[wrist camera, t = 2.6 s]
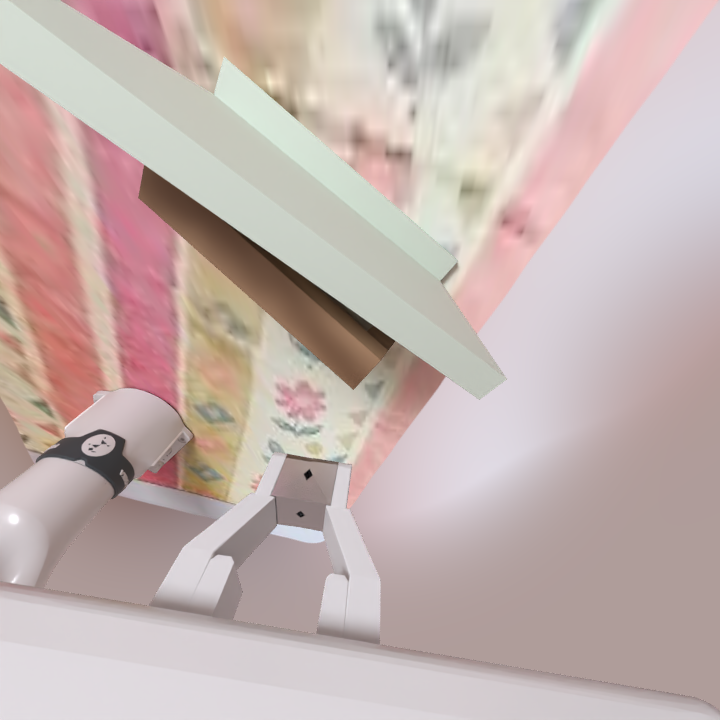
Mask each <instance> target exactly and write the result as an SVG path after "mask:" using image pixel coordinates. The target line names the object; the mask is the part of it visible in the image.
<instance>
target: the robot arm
mask: <svg viewBox="0 0 720 720" xmlns="http://www.w3.org/2000/svg"><path fill="white" fill-rule="evenodd" d="M93 399H94V404H93V405H91V406H90V407H89V408H88V409H86V410H85V411H84V412H83V413H81V414H80V415H79V416H78V417H76V418H75V419H74V420H73V421H72V422H70V423H69V424H68V425H67V426H66V427H65V438H64V439H62V440H60V441H59V442H57V443H56V444H55V445H53V446H51V447H50V448H48V449H47V450H46V451H45V452H44V453H43V454H42V455H41V456H40V457H38V458H37V460H36V463H35V464H34V465H33V466H31V467H30V468H29V469H27V470H26V471H25V472H23V473H22V474H21V475H19V476H18V477H17V478H16V479H14V480H13V481H12V482H10V483H9V484H8V485H6V486H5V487H4V488H2V489H1V490H0V720H720V710H718V709H717V708H716V707H714V706H713V705H711V704H710V703H708V702H706V701H704V700H701V699H698V698H695V697H690V696H685V695H680V694H674V693H668V692H662V691H656V690H650V689H644V688H637V687H632V686H626V685H620V684H614V683H608V682H602V681H596V680H590V679H584V678H578V677H572V676H566V675H560V674H554V673H548V672H542V671H535V670H530V669H524V668H518V667H512V666H505V665H499V664H493V663H488V662H482V661H476V660H470V659H464V658H458V657H452V656H446V655H440V654H434V653H428V652H422V651H416V650H410V649H404V648H398V647H392V646H386V645H380V586H381V585H380V584H381V580H380V578H379V576H378V573H377V571H376V569H375V566H374V564H373V561H372V559H371V557H370V554H369V552H368V550H367V547H366V545H365V543H364V540H363V538H362V535H361V533H360V531H359V528H358V526H357V524H356V522H355V519H354V517H353V514H352V512H351V510H350V509H347V500H348V493H349V485H350V477H351V470H352V464H346V463H339V462H335V461H328V460H322V459H315V458H307V457H301V456H296V455H290V454H285V453H279V452H274V454H273V455H272V457H271V459H270V461H269V463H268V466H267V468H266V470H265V472H264V474H263V477H262V479H261V481H260V483H259V486H258V488H257V490H256V492H255V493H250V494H249V495H248V496H246V497H245V498H244V499H243V500H241V501H240V502H239V503H238V504H236V505H235V506H234V507H233V508H231V509H230V510H229V511H228V512H226V513H225V514H224V515H223V516H221V517H220V518H219V519H218V520H216V521H215V522H214V523H213V524H212V525H210V526H209V527H208V528H207V529H205V530H204V531H203V532H202V533H200V534H199V535H198V536H197V537H196V538H194V539H193V540H192V541H190V542H189V543H188V544H187V545H185V546H184V547H183V549H182V550H181V552H180V554H179V556H178V557H177V559H176V561H175V562H174V564H173V566H172V568H171V569H170V571H169V573H168V574H167V576H166V578H165V580H164V581H163V583H162V585H161V586H160V588H159V590H158V591H157V593H156V595H155V596H154V598H153V600H152V601H151V603H150V605H149V606H147V605H141V604H134V603H129V602H122V601H116V600H110V599H105V598H98V597H93V596H87V595H81V594H75V593H69V592H62V591H56V590H51V589H45V588H44V587H45V585H46V583H47V581H48V579H49V577H50V576H51V574H52V572H53V570H54V569H55V567H56V565H57V564H58V562H59V561H60V559H61V558H62V556H63V555H64V553H65V552H66V551H67V549H68V548H69V547H70V545H71V544H72V543H73V542H74V540H75V539H76V538H77V537H78V536H79V534H80V533H81V532H82V531H83V530H84V529H85V527H86V526H87V525H88V524H89V523H90V522H91V520H92V519H93V518H94V517H95V516H96V515H97V514H98V512H99V511H100V510H101V509H102V508H103V507H104V506H105V505H106V503H107V502H108V501H109V500H110V499H113V498H115V497H116V496H117V495H118V494H119V493H121V492H122V491H123V490H124V489H125V488H126V487H127V485H128V484H129V483H130V482H131V481H132V480H133V479H135V478H139V477H141V476H142V475H143V474H144V473H145V472H146V470H150V471H151V472H153V473H157V472H158V471H159V469H160V468H161V467H162V466H163V465H164V464H165V463H166V462H167V461H168V460H170V459H171V458H172V457H173V456H174V455H175V454H176V453H177V452H178V451H179V450H180V449H181V448H182V447H183V446H184V445H186V444H187V443H188V442H189V441H190V440H191V439H192V438H193V434H192V433H191V432H190V431H189V430H188V429H187V428H186V427H185V426H184V424H183V422H182V420H181V418H180V416H179V415H178V413H177V412H176V411H175V410H174V409H173V408H172V407H171V406H170V405H169V404H167V403H166V402H165V401H163V400H162V399H160V398H158V397H157V396H155V395H153V394H150V393H148V392H145V391H142V390H138V389H132V388H123V389H118V390H115V391H98V392H97V393H95V394H94V395H93ZM338 463H339V464H338ZM277 524H281V525H288V526H296V527H302V528H307V529H312V530H317V531H322V532H323V536H324V539H325V543H326V546H327V550H328V553H329V557H330V561H331V564H332V568H333V571H334V574H330V575H329V576H328V577H327V578H326V582H325V587H324V593H323V598H322V604H321V610H320V616H319V622H318V627H317V633H316V634H314V633H308V632H302V631H296V630H290V629H284V628H278V627H272V626H266V625H260V624H254V623H248V622H242V621H236V620H233V618H234V615H235V612H236V609H237V607H238V604H239V601H240V598H241V596H242V593H243V591H242V588H241V584H240V581H239V578H238V574H237V571H236V570H237V569H238V568H239V567H240V566H241V565H242V564H243V562H244V561H245V560H246V559H247V558H248V557H249V556H250V555H251V554H252V552H253V551H254V550H255V549H256V548H257V547H258V546H259V545H260V544H261V543H262V542H263V540H264V539H265V538H266V537H267V536H268V535H269V534H270V533H271V532H272V531H273V529H274V528H275V527H276V526H277Z"/></svg>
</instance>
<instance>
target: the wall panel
mask: <svg viewBox="0 0 720 720" xmlns="http://www.w3.org/2000/svg"><path fill="white" fill-rule="evenodd" d="M0 64H1V65H3V66H4V67H6V68H7V69H9V70H10V71H11V72H13V73H14V74H16V75H17V76H19V77H20V78H21V79H23V80H24V81H26V82H27V83H29V84H30V85H31V86H33V87H34V88H36V89H37V90H39V91H40V92H41V93H43V94H44V95H46V96H47V97H49V98H50V99H51V100H53V101H54V102H56V103H57V104H58V105H60V106H61V107H63V108H64V109H66V110H67V111H68V112H70V113H71V114H73V115H74V116H76V117H77V118H78V119H80V120H81V121H83V122H84V123H86V124H87V125H88V126H90V127H91V128H93V129H94V130H96V131H97V132H98V133H100V134H101V135H103V136H104V137H106V138H107V139H108V140H110V141H111V142H113V143H114V144H116V145H117V146H118V147H120V148H121V149H123V150H124V151H126V152H127V153H128V154H130V155H131V156H133V157H134V158H135V159H137V160H138V161H140V162H141V163H143V164H144V165H145V166H147V167H148V168H150V169H151V170H153V171H154V172H155V173H157V174H158V175H160V176H161V177H163V178H164V179H165V180H167V181H168V182H170V183H171V184H173V185H174V186H175V187H177V188H178V189H180V190H181V191H183V192H184V193H185V194H187V195H188V196H190V197H191V198H193V199H194V200H195V201H197V202H198V203H200V204H201V205H202V206H204V207H205V208H207V209H208V210H210V211H211V212H212V213H214V214H215V215H217V216H218V217H220V218H221V219H222V220H224V221H225V222H227V223H228V224H230V225H231V226H232V227H234V228H235V229H237V230H238V231H240V232H241V233H242V234H244V235H245V236H247V237H248V238H250V239H251V240H252V241H254V242H255V243H257V244H258V245H260V246H261V247H262V248H264V249H265V250H267V251H268V252H270V253H271V254H272V255H274V256H275V257H277V258H278V259H279V260H281V261H282V262H284V263H285V264H287V265H288V266H289V267H291V268H292V269H294V270H295V271H297V272H298V273H299V274H301V275H302V276H304V277H305V278H307V279H308V280H309V281H311V282H312V283H314V284H315V285H317V286H318V287H319V288H321V289H322V290H324V291H325V292H327V293H328V294H329V295H331V296H332V297H334V298H335V299H337V300H338V301H339V302H341V303H342V304H344V305H345V306H346V307H348V308H349V309H351V310H352V311H354V312H355V313H356V314H358V315H359V316H361V317H362V318H364V319H365V320H366V321H368V322H369V323H371V324H372V325H374V326H375V327H376V328H378V329H379V330H381V331H382V332H384V333H385V334H386V335H388V336H389V337H391V338H392V339H394V340H395V341H396V342H398V343H399V344H401V345H402V346H404V347H405V348H406V349H408V350H409V351H411V352H412V353H414V354H415V355H416V356H418V357H419V358H421V359H422V360H423V361H425V362H426V363H428V364H429V365H431V366H432V367H433V368H435V369H436V370H438V371H439V372H441V373H442V374H443V375H445V376H446V377H448V378H449V379H451V380H452V381H454V382H455V383H456V384H458V385H459V386H461V387H462V388H463V389H465V390H466V391H468V392H469V393H471V394H472V395H473V396H475V397H476V398H478V399H479V400H480V399H481V398H482V397H484V396H485V395H486V394H488V393H489V392H490V391H492V390H493V389H494V388H496V387H497V386H498V385H500V384H501V383H503V382H504V381H505V380H507V379H506V377H505V376H504V374H503V372H502V371H501V370H500V368H499V367H498V365H497V364H496V362H495V361H494V359H493V358H492V356H491V355H490V353H489V352H488V350H487V349H486V347H485V346H484V345H483V343H482V342H481V340H480V339H479V337H478V336H477V334H476V333H475V331H474V330H473V328H472V327H471V325H470V324H469V322H468V321H467V319H466V318H465V316H464V315H463V314H462V312H461V311H460V309H459V308H458V306H457V305H456V303H455V302H454V300H453V299H452V297H451V296H450V294H449V293H448V291H447V290H446V288H445V287H444V286H443V284H442V283H441V280H442V279H443V277H444V276H445V275H446V274H447V273H448V272H449V271H450V270H451V268H452V267H453V266H454V265H455V264H456V263H457V262H458V260H457V259H456V258H455V257H453V256H452V255H451V254H450V253H449V252H448V251H446V250H445V249H444V248H443V247H442V246H441V245H440V244H438V243H437V242H436V241H435V240H434V239H433V238H432V237H430V236H429V235H428V234H427V233H426V232H425V231H424V230H422V229H421V228H420V227H419V226H418V225H417V224H416V223H414V222H413V221H412V220H411V219H410V218H409V217H407V216H406V215H405V214H404V213H403V212H402V211H401V210H399V209H398V208H397V207H396V206H395V205H394V204H393V203H391V202H390V201H389V200H388V199H387V198H386V197H385V196H383V195H382V194H381V193H380V192H379V191H378V190H376V189H375V188H374V187H373V186H372V185H371V184H370V183H368V182H367V181H366V180H365V179H364V178H363V177H362V176H360V175H359V174H358V173H357V172H356V171H355V170H354V169H352V168H351V167H350V166H349V165H348V164H347V163H346V162H344V161H343V160H342V159H341V158H340V157H339V156H337V155H336V154H335V153H334V152H333V151H332V150H331V149H329V148H328V147H327V146H326V145H325V144H324V143H323V142H321V141H320V140H319V139H318V138H317V137H316V136H315V135H313V134H312V133H311V132H310V131H309V130H308V129H306V128H305V127H304V126H303V125H302V124H301V123H300V122H298V121H297V120H296V119H295V118H294V117H293V116H292V115H290V114H289V113H288V112H287V111H286V110H285V109H284V108H282V107H281V106H280V105H279V104H278V103H277V102H276V101H274V100H273V99H272V98H271V97H270V96H269V95H267V94H266V93H265V92H264V91H263V90H262V89H261V88H259V87H258V86H257V85H256V84H255V83H254V82H253V81H251V80H250V79H249V78H248V77H247V76H246V75H245V74H243V73H242V72H241V71H240V70H239V69H238V68H236V67H235V66H234V65H233V64H232V63H231V62H230V61H228V60H227V59H226V58H225V57H224V59H223V63H222V66H221V70H220V74H219V77H218V81H217V85H216V88H215V92H214V94H212V93H211V92H209V91H208V90H206V89H204V88H203V87H201V86H199V85H198V84H196V83H194V82H193V81H191V80H190V79H188V78H186V77H185V76H183V75H181V74H180V73H178V72H176V71H175V70H173V69H172V68H170V67H168V66H167V65H165V64H163V63H162V62H160V61H158V60H157V59H155V58H153V57H152V56H150V55H149V54H147V53H145V52H144V51H142V50H140V49H139V48H137V47H135V46H134V45H132V44H131V43H129V42H127V41H126V40H124V39H122V38H121V37H119V36H117V35H116V34H114V33H113V32H111V31H109V30H108V29H106V28H104V27H103V26H101V25H99V24H98V23H96V22H95V21H93V20H91V19H90V18H88V17H86V16H85V15H83V14H81V13H80V12H78V11H77V10H75V9H73V8H72V7H70V6H68V5H67V4H65V3H63V2H62V1H60V0H0Z"/></svg>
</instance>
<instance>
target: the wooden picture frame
mask: <svg viewBox="0 0 720 720" xmlns="http://www.w3.org/2000/svg"><path fill="white" fill-rule="evenodd" d="M138 198H139V199H140V200H141V201H143V202H144V203H145V204H146V205H147V206H148V207H149V208H150V209H152V210H153V211H154V212H155V213H156V214H157V215H158V216H159V217H160V218H162V219H163V220H164V221H165V222H166V223H167V224H168V225H169V226H171V227H172V228H173V229H174V230H175V231H176V232H177V233H178V234H180V235H181V236H182V237H183V238H184V239H185V240H186V241H187V242H188V243H190V244H191V245H192V246H193V247H194V248H195V249H196V250H197V251H199V252H200V253H201V254H202V255H203V256H204V257H205V258H206V259H208V260H209V261H210V262H211V263H212V264H213V265H214V266H215V267H216V268H218V269H219V270H220V271H221V272H222V273H223V274H224V275H225V276H227V277H228V278H229V279H230V280H231V281H232V282H233V283H234V284H236V285H237V286H238V287H239V288H240V289H241V290H242V291H243V292H245V293H246V294H247V295H248V296H249V297H250V298H251V299H252V300H253V301H255V302H256V303H257V304H258V305H259V306H260V307H261V308H262V309H264V310H265V311H266V312H267V313H268V314H269V315H270V316H271V317H273V318H274V319H275V320H276V321H277V322H278V323H279V324H280V325H281V326H283V327H284V328H285V329H286V330H287V331H288V332H289V333H290V334H292V335H293V336H294V337H295V338H296V339H297V340H298V341H299V342H301V343H302V344H303V345H304V346H305V347H306V348H307V349H308V350H310V351H311V352H312V353H313V354H314V355H315V356H316V357H317V358H318V359H320V360H321V361H322V362H323V363H324V364H325V365H326V366H327V367H329V368H330V369H331V370H332V371H333V372H334V373H335V374H336V375H338V376H339V377H340V378H341V379H342V380H343V381H344V382H345V383H346V384H348V385H349V386H350V387H351V388H352V389H353V390H354V389H355V388H356V386H357V385H358V384H359V383H360V382H361V381H362V380H363V379H364V378H365V377H366V376H367V375H368V373H369V372H370V371H371V370H372V369H373V368H374V367H375V366H376V365H377V364H378V363H379V362H380V361H381V359H382V358H383V357H384V355H385V354H386V353H387V351H388V350H389V349H390V347H391V346H392V345H393V343H394V342H395V340H394V339H392V338H391V337H389V336H388V335H386V334H385V333H384V332H382V331H381V330H379V329H378V328H376V327H375V326H374V325H372V324H371V323H369V322H368V321H366V320H365V319H364V318H362V317H361V316H359V315H358V314H356V313H355V312H354V311H352V310H351V309H349V308H348V307H346V306H345V305H344V304H342V303H341V302H339V301H338V300H337V299H335V298H334V297H332V296H331V295H329V294H328V293H327V292H325V291H324V290H322V289H321V288H319V287H318V286H317V285H315V284H314V283H312V282H311V281H309V280H308V279H307V278H305V277H304V276H302V275H301V274H299V273H298V272H297V271H295V270H294V269H292V268H291V267H289V266H288V265H287V264H285V263H284V262H282V261H281V260H279V259H278V258H277V257H275V256H274V255H272V254H271V253H270V252H268V251H267V250H265V249H264V248H262V247H261V246H260V245H258V244H257V243H255V242H254V241H252V240H251V239H250V238H248V237H247V236H245V235H244V234H242V233H241V232H240V231H238V230H237V229H235V228H234V227H232V226H231V225H230V224H228V223H227V222H225V221H224V220H222V219H221V218H220V217H218V216H217V215H215V214H214V213H212V212H211V211H210V210H208V209H207V208H205V207H204V206H202V205H201V204H200V203H198V202H197V201H195V200H194V199H193V198H191V197H190V196H188V195H187V194H185V193H184V192H183V191H181V190H180V189H178V188H177V187H175V186H174V185H173V184H171V183H170V182H168V181H167V180H165V179H164V178H163V177H161V176H160V175H158V174H157V173H155V172H154V171H153V170H151V169H150V168H148V167H147V166H145V165H144V169H143V175H142V180H141V186H140V191H139V197H138Z"/></svg>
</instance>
